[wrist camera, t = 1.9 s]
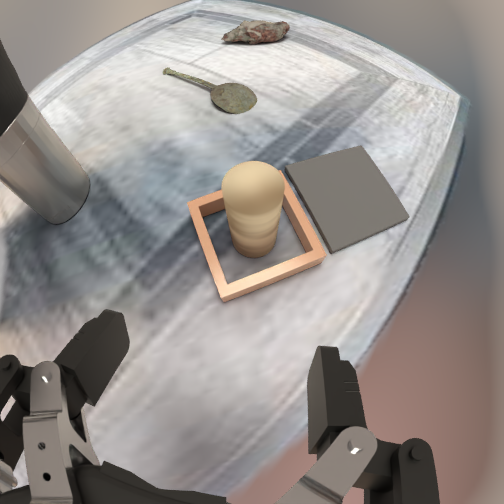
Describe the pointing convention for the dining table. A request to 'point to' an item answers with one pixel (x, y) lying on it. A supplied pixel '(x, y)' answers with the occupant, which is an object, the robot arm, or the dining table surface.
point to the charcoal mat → (346, 196)
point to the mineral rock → (257, 32)
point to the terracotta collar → (267, 276)
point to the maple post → (253, 206)
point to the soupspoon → (226, 94)
